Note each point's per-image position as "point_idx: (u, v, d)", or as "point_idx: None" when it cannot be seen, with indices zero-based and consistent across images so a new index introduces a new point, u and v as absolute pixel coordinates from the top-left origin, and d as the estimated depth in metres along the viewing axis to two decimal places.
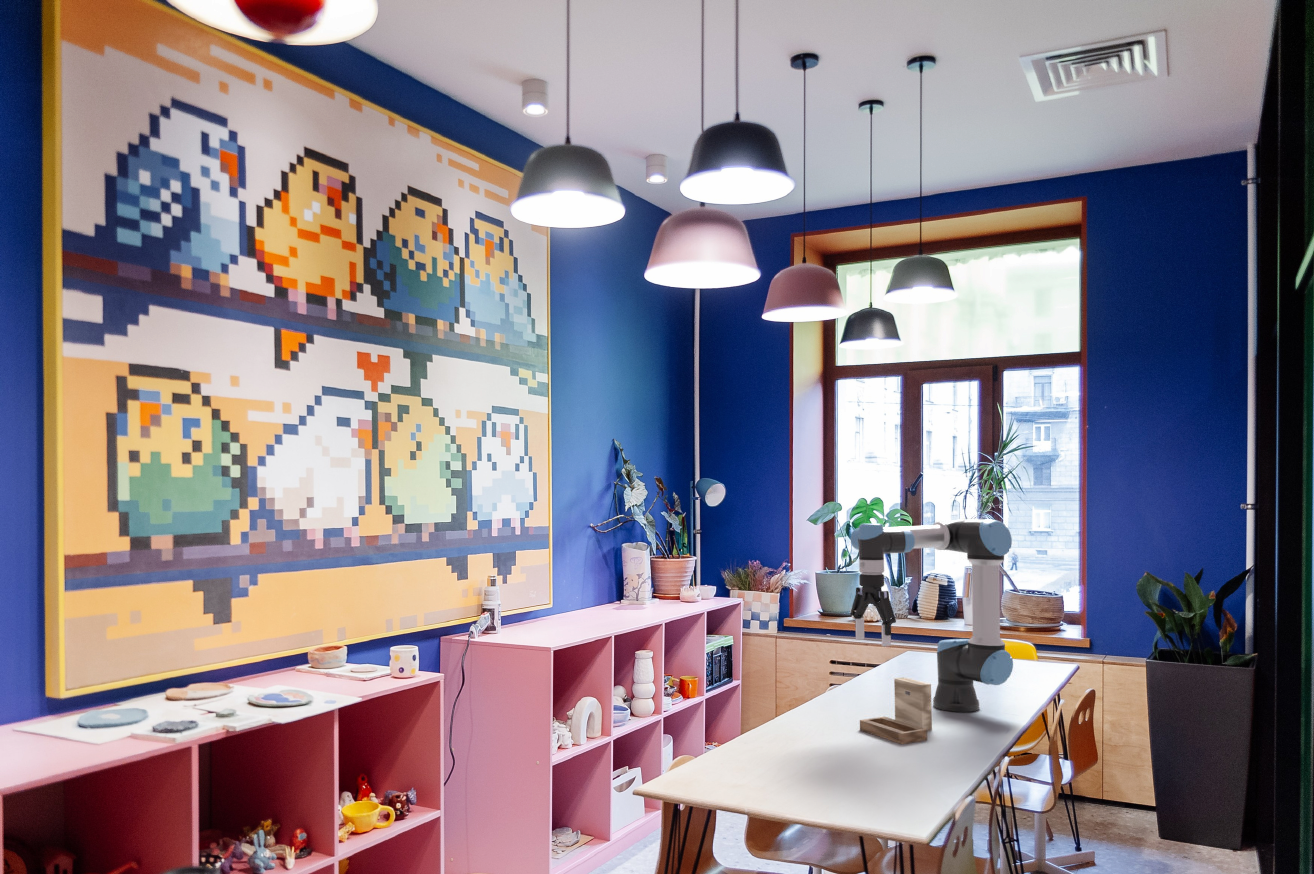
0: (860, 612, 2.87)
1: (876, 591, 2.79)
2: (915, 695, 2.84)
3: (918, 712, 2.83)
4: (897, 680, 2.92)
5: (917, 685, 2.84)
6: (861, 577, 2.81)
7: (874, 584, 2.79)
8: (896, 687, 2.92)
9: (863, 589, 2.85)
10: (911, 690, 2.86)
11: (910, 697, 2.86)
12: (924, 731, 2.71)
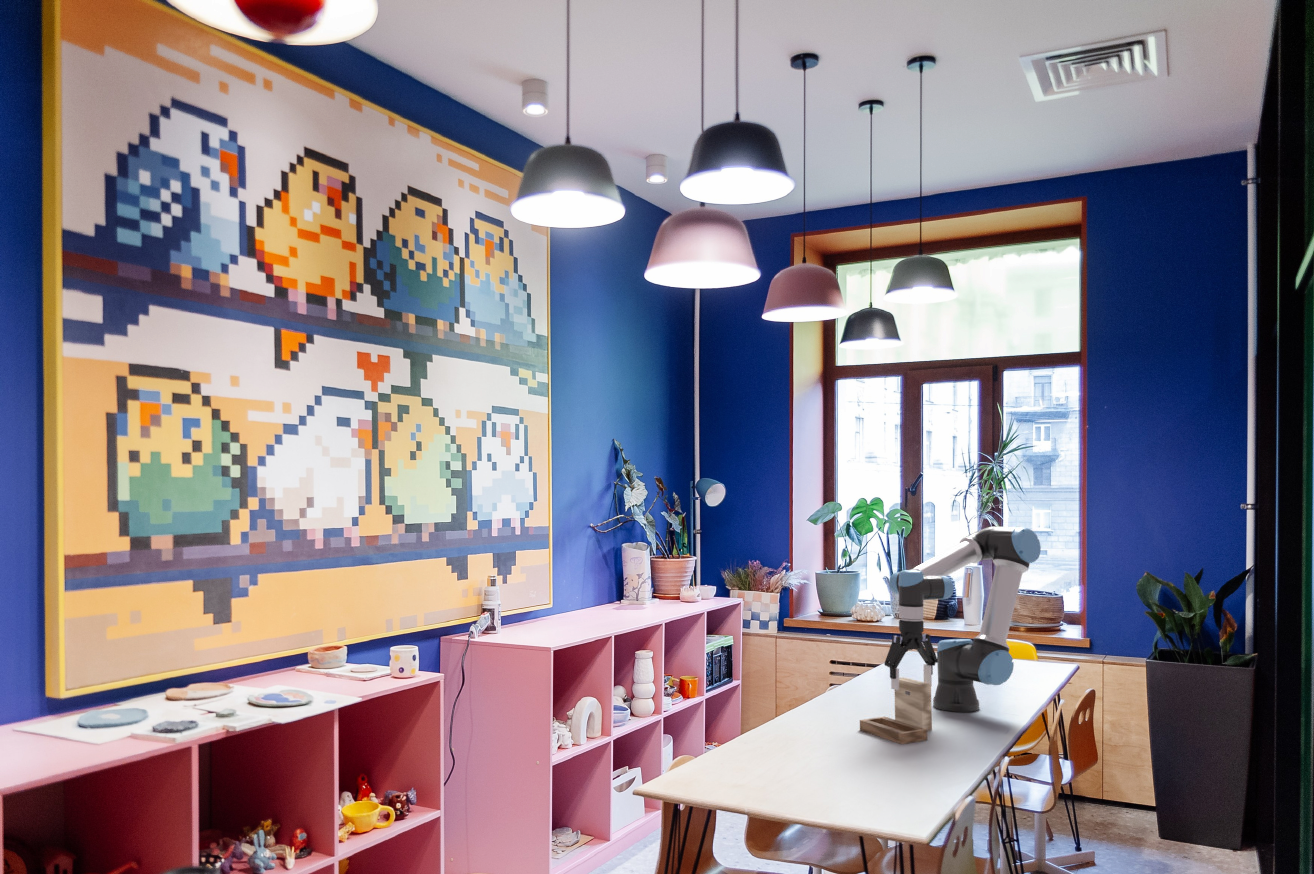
0: (923, 658, 2.92)
1: None
2: (915, 695, 2.84)
3: (918, 712, 2.83)
4: None
5: (917, 685, 2.84)
6: None
7: (899, 629, 2.89)
8: None
9: None
10: (911, 690, 2.86)
11: (910, 697, 2.86)
12: (924, 731, 2.71)
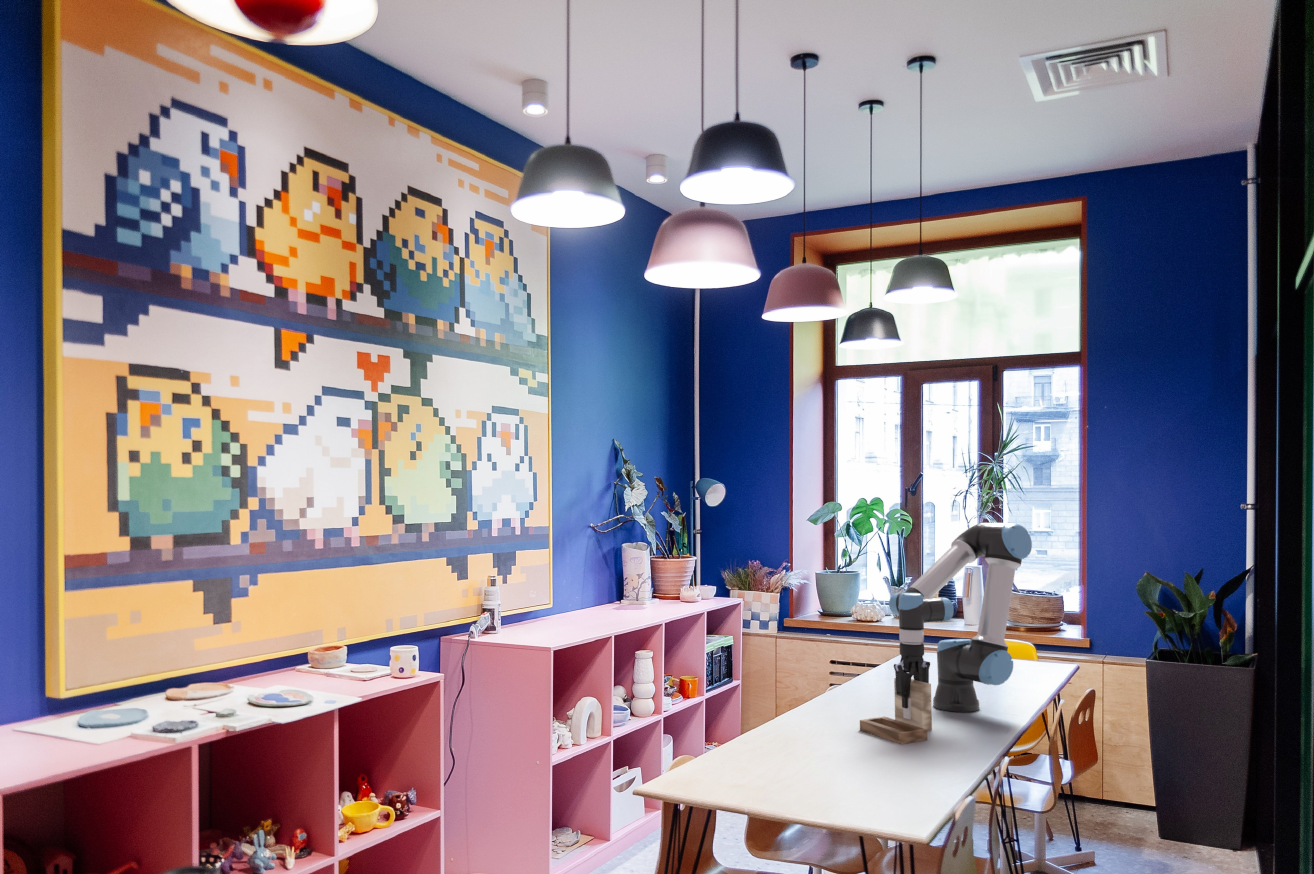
0: None
1: None
2: (915, 695, 2.84)
3: (918, 712, 2.83)
4: None
5: (917, 685, 2.84)
6: None
7: (900, 652, 2.89)
8: None
9: None
10: (911, 690, 2.86)
11: (910, 697, 2.86)
12: (924, 731, 2.71)
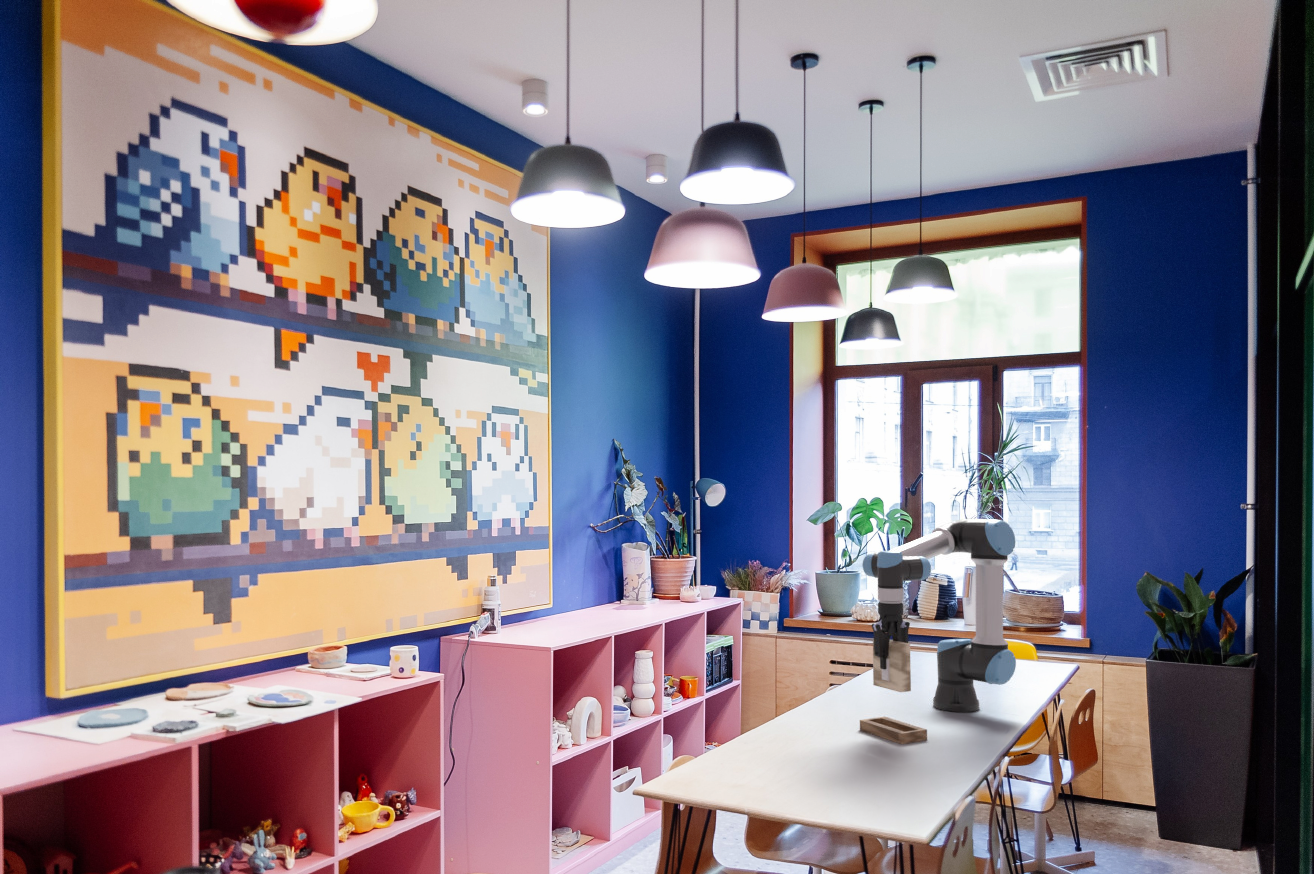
0: None
1: None
2: (894, 656, 2.75)
3: (896, 672, 2.74)
4: None
5: (896, 645, 2.74)
6: None
7: (878, 611, 2.79)
8: None
9: None
10: (889, 650, 2.76)
11: (889, 658, 2.77)
12: (924, 731, 2.71)
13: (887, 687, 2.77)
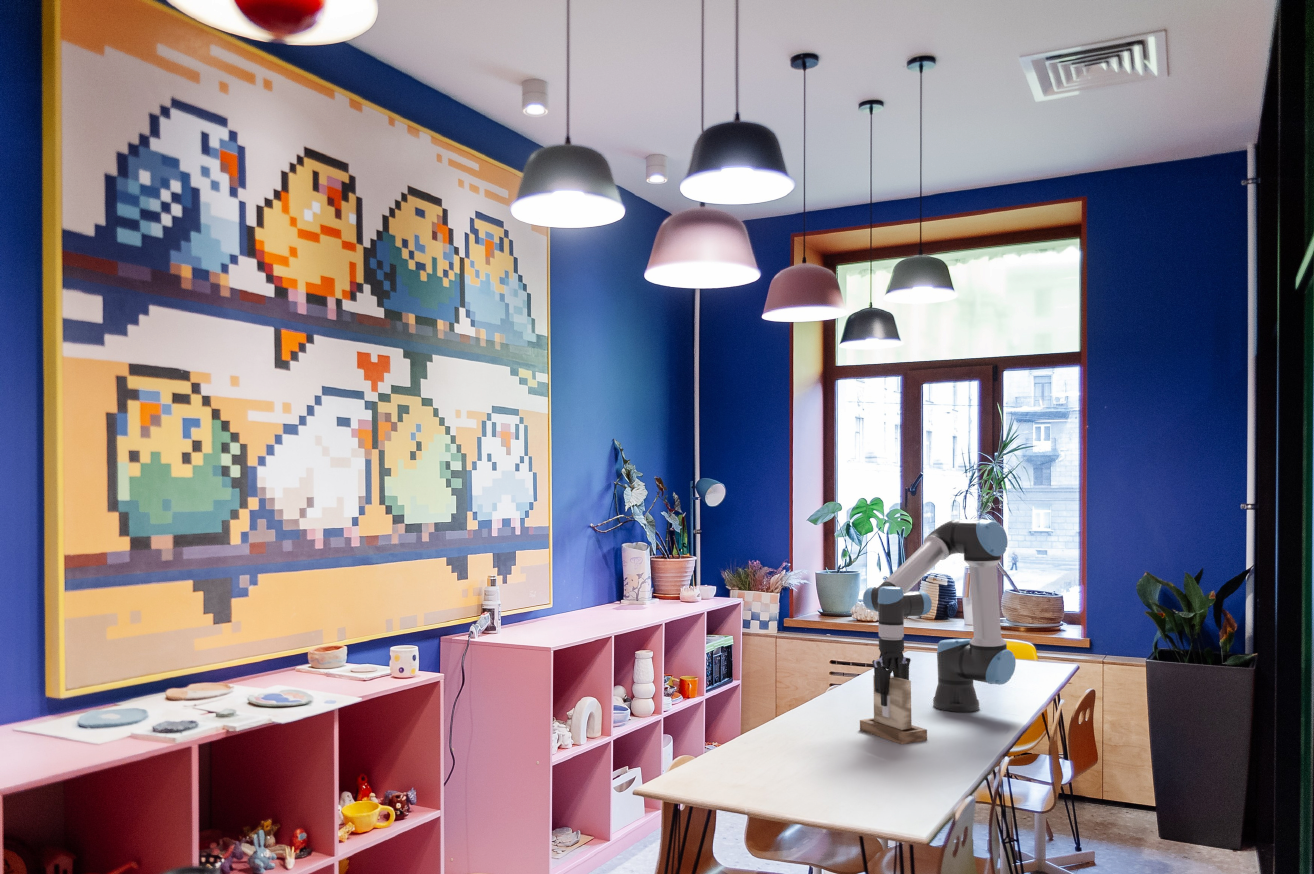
0: None
1: None
2: (894, 693, 2.74)
3: (897, 710, 2.73)
4: None
5: (896, 682, 2.73)
6: None
7: (879, 648, 2.78)
8: None
9: None
10: (890, 687, 2.76)
11: (890, 694, 2.76)
12: (924, 731, 2.71)
13: (888, 724, 2.76)
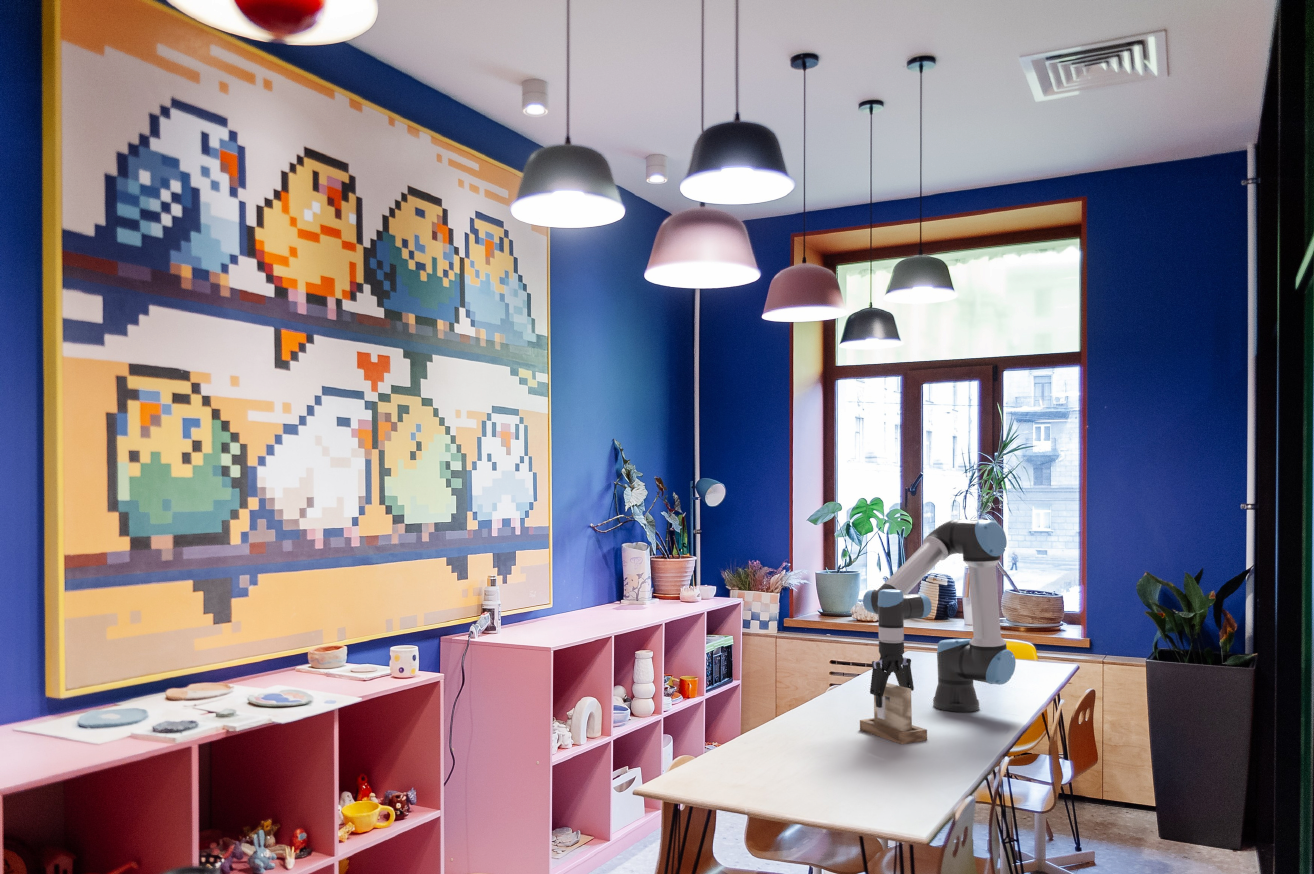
0: (900, 684, 2.80)
1: None
2: (895, 701, 2.74)
3: (897, 718, 2.73)
4: None
5: (897, 690, 2.73)
6: None
7: (879, 651, 2.78)
8: None
9: None
10: (891, 695, 2.76)
11: (890, 703, 2.76)
12: (924, 731, 2.71)
13: None
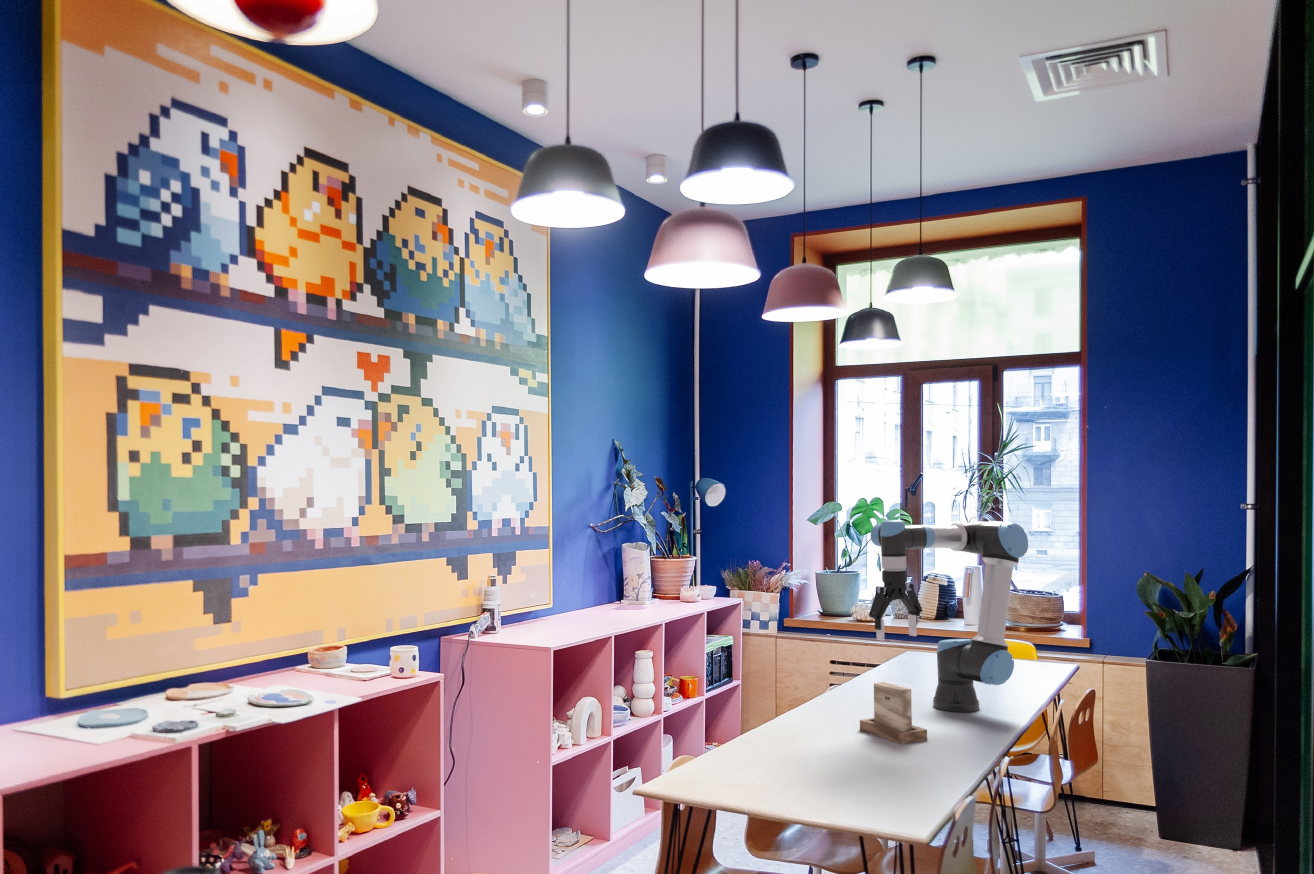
0: (908, 608, 2.89)
1: None
2: (895, 701, 2.74)
3: (897, 718, 2.73)
4: (876, 685, 2.81)
5: (897, 690, 2.73)
6: None
7: (883, 579, 2.86)
8: (875, 692, 2.81)
9: None
10: (891, 695, 2.76)
11: (890, 703, 2.76)
12: (924, 731, 2.71)
13: None
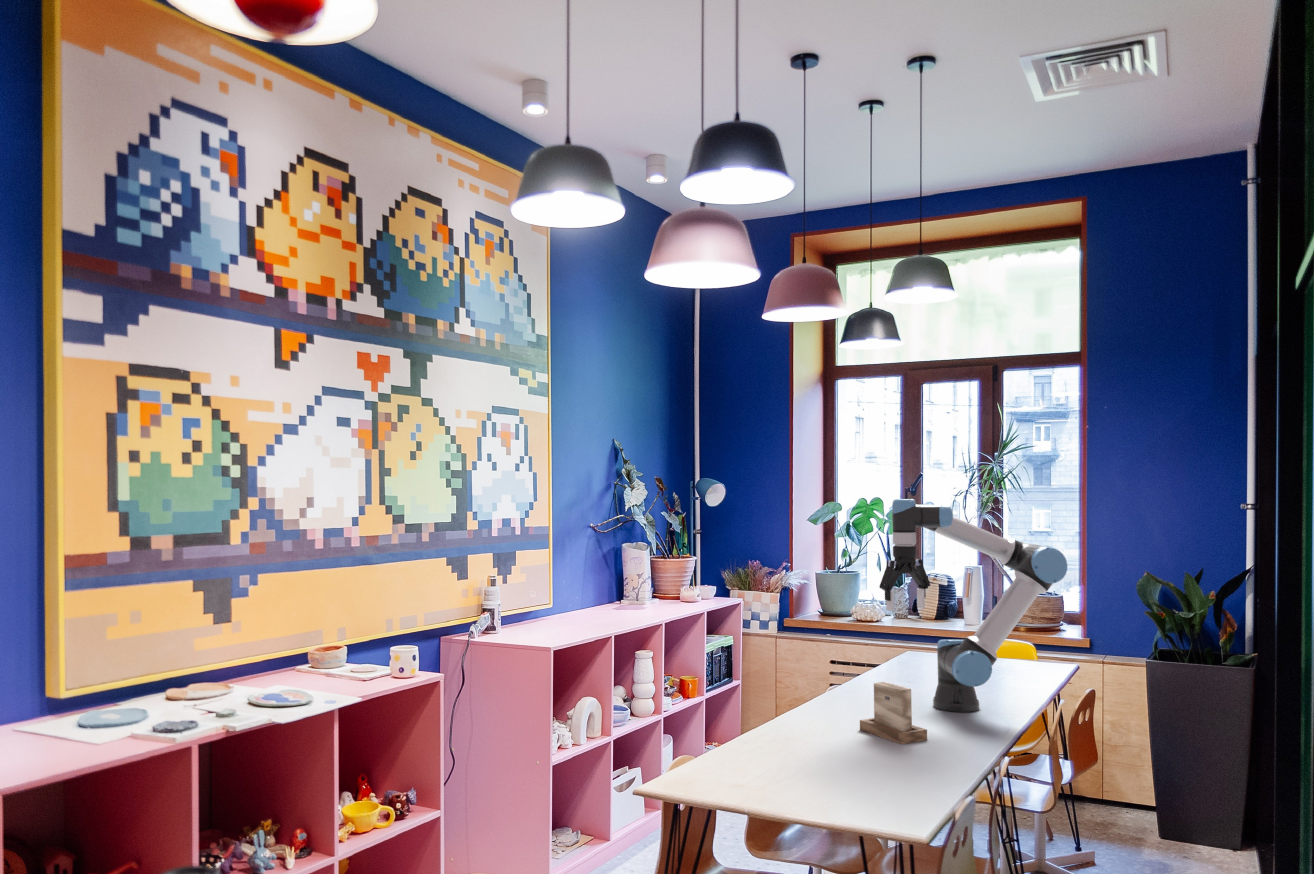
0: (917, 582, 3.07)
1: None
2: (895, 701, 2.74)
3: (897, 718, 2.73)
4: (876, 685, 2.81)
5: (897, 690, 2.73)
6: None
7: (893, 554, 3.04)
8: (875, 692, 2.81)
9: None
10: (891, 695, 2.76)
11: (890, 703, 2.76)
12: (924, 731, 2.71)
13: None
